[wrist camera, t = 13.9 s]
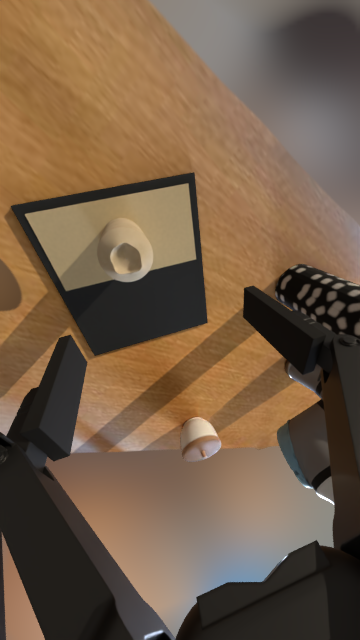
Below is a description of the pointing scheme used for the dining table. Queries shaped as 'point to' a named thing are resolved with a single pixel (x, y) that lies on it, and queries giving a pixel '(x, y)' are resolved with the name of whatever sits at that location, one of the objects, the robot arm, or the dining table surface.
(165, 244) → the table mat
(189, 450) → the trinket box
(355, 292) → the spotted tube
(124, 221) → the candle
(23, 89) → the dining table surface
